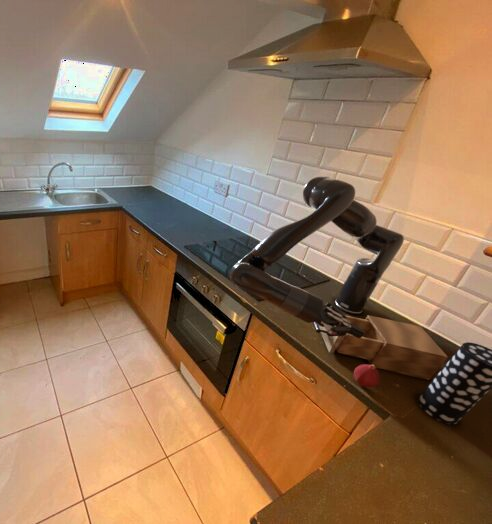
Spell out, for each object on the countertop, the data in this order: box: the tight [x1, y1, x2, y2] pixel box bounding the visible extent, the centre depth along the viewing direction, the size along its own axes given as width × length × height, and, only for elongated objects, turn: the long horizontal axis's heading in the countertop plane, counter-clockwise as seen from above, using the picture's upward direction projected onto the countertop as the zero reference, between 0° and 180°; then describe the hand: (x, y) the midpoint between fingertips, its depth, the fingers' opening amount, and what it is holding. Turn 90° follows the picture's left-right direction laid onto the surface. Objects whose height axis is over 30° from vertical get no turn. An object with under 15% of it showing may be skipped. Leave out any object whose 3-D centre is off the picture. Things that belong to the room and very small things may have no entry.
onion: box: [353, 363, 381, 388], centre depth 82 cm, size 6×6×8 cm
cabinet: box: [364, 314, 448, 381], centre depth 93 cm, size 16×14×10 cm
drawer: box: [312, 314, 384, 361], centre depth 96 cm, size 19×12×8 cm, turn 76°
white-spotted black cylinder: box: [417, 341, 492, 425], centre depth 75 cm, size 8×8×20 cm
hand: (361, 334), depth 79 cm, fingers closed
